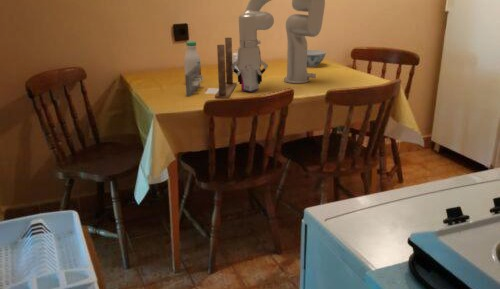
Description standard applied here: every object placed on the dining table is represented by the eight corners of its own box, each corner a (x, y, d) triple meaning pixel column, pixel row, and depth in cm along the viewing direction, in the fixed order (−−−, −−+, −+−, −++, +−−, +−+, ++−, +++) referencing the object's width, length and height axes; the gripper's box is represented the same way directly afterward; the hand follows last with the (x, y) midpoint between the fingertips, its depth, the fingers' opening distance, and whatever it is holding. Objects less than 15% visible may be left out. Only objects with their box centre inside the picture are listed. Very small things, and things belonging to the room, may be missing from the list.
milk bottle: (194, 85, 215) (192, 43, 208) (182, 83, 219) (179, 42, 211) (204, 82, 221) (202, 41, 214) (192, 80, 225) (189, 40, 218)
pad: (230, 90, 207) (230, 88, 206) (226, 95, 197) (226, 94, 197) (208, 89, 208) (208, 87, 207) (204, 95, 199) (204, 93, 198)
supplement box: (259, 89, 201) (258, 64, 197) (250, 92, 198) (249, 66, 193) (250, 87, 205) (249, 62, 201) (240, 90, 201) (239, 64, 197)
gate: (236, 84, 213) (235, 37, 205) (228, 98, 190) (227, 46, 182) (224, 84, 213) (222, 37, 205) (214, 98, 191) (212, 45, 183)
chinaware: (294, 64, 260) (295, 50, 258) (319, 62, 264) (319, 49, 261) (303, 69, 247) (304, 55, 244) (329, 67, 250) (329, 53, 247)
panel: (205, 86, 213) (204, 65, 209) (195, 98, 194) (194, 75, 191) (196, 86, 213) (195, 65, 209) (186, 98, 195) (185, 75, 191)
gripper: (269, 41, 196) (270, 81, 203) (229, 42, 198) (231, 81, 205) (268, 45, 189) (268, 85, 196) (227, 45, 191) (229, 85, 198)
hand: (250, 83), depth 200 cm, fingers closed on supplement box, 7 cm apart
